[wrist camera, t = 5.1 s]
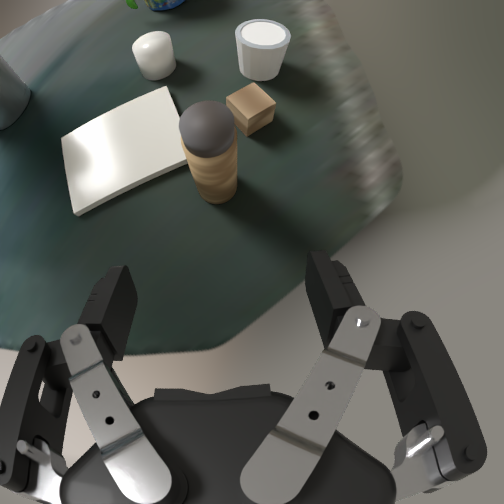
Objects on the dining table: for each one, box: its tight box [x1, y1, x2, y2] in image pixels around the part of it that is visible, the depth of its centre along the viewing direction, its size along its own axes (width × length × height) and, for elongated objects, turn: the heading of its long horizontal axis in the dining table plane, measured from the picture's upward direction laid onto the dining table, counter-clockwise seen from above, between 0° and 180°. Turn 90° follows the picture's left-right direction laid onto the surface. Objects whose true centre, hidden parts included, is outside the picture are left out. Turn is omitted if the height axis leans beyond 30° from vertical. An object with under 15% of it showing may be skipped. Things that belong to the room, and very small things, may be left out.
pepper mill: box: [179, 101, 237, 204], centre depth 26 cm, size 4×4×13 cm
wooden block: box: [226, 82, 276, 136], centre depth 32 cm, size 4×4×4 cm
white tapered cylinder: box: [235, 19, 291, 81], centre depth 31 cm, size 7×7×7 cm
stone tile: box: [61, 86, 188, 216], centre depth 32 cm, size 16×12×1 cm
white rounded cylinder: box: [132, 31, 176, 80], centre depth 32 cm, size 5×5×6 cm
